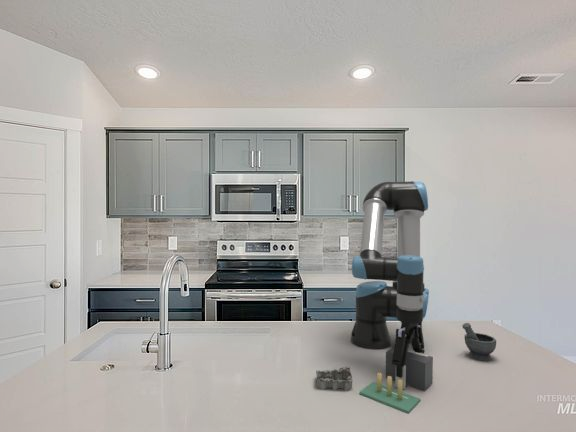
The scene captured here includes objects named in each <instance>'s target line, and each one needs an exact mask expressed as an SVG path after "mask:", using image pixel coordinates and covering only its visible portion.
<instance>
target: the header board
mask: <svg viewBox="0 0 576 432" xmlns="http://www.w3.org/2000/svg"><path fill="white" fill-rule="evenodd" d="M376 376H377V377H376V378H377V379H376V381H372V382H370V383H369V384H368V385H366V386H365V387H364V388H362V389H361V390H360V391H359V395H361V396H364V397H366V398H368V399H371V400H373V401H376V402H379V403H381V404H383V405H386V406H389V407H391V408H394V409H396V410H398V411H401V412H404V413H406V414H410V412H411V411H412V410H413V409H414V408H416V406H417V405H418V404H419V403H420V402H421V398H420V397H418V396H413V395H411V394H408V393H406V392H403V389H402V386H403V381H402V380H398V387H397V389H395V388H393V387H392V386H393V380H392V377H391V376H387V378H386V380H387V383H386V385H383V382H382V381H383V378H382V376H383V375H382V373H381V372H377V374H376Z"/></svg>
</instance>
